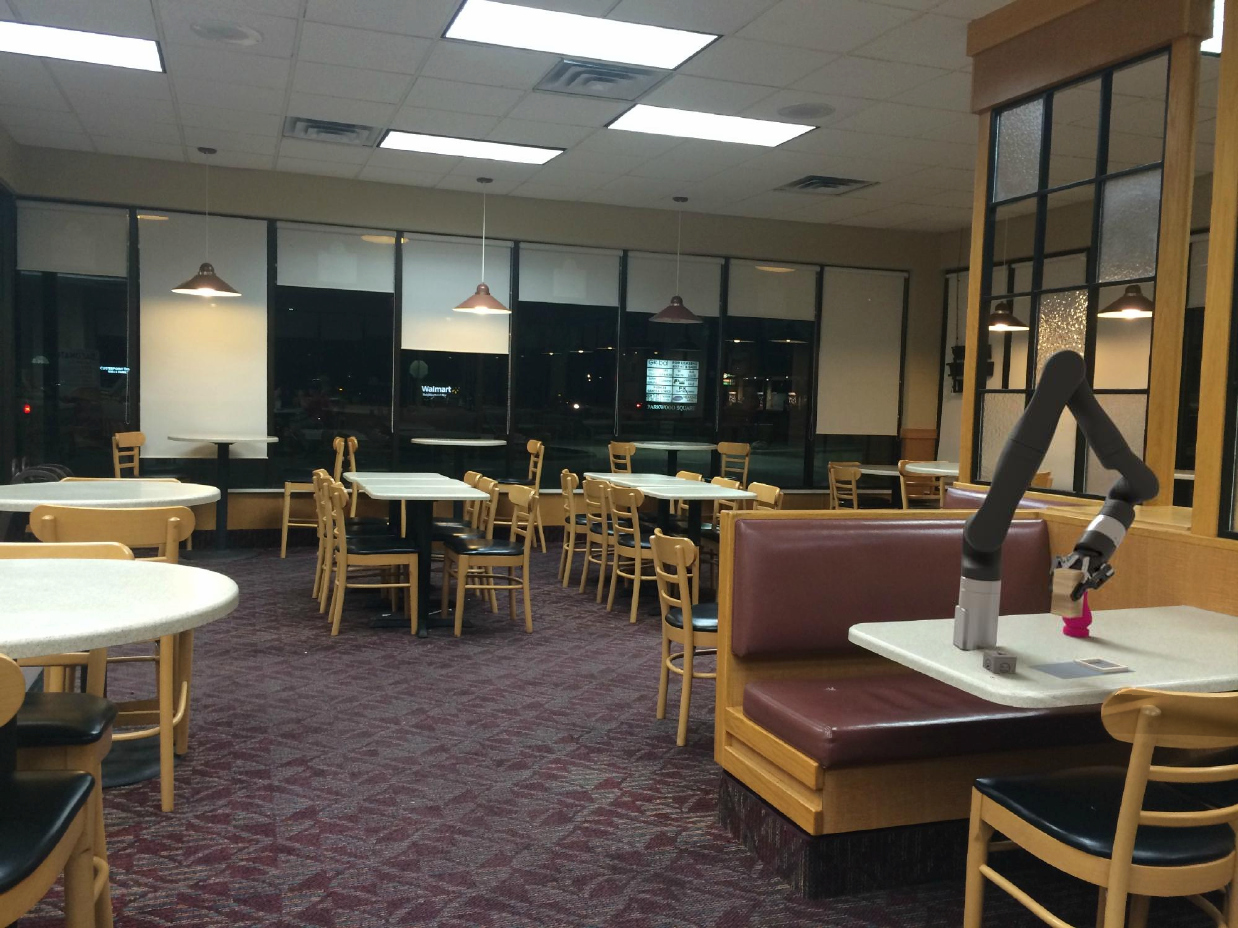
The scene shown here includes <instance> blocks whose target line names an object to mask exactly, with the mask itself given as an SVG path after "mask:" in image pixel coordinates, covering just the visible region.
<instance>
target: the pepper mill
mask: <svg viewBox="0 0 1238 928" xmlns="http://www.w3.org/2000/svg"><path fill="white" fill-rule="evenodd" d="M1090 591H1091V588H1090V589H1089V590H1086V591H1085V593H1084V597H1083V608H1082V617H1074V618H1067V617H1062V616H1061V620H1062V621H1063V623H1064V624H1065V625H1063V627H1062V633H1063V634H1064V635H1066V636H1070V637H1074V638H1089V636H1090V629H1089V628H1088V627H1089V626H1091V624H1092V623H1093V615H1092V611H1091V609H1090V606H1089V603H1088V595H1089V592H1090Z"/></svg>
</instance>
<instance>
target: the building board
mask: <svg viewBox="0 0 1238 928" xmlns="http://www.w3.org/2000/svg"><path fill="white" fill-rule="evenodd" d="M1027 667H1028V668H1031V669H1035V670H1037V671H1039V672H1042V673H1046V674H1048V675H1052V676H1054V677H1057V678H1060V679H1063V680H1067V679H1077V678H1087V677H1097V676H1106V675H1107V676H1108V675H1117V674H1126V673H1127V674H1128V673H1135V672H1136V671H1135V670H1132V669H1129V667H1128V666H1127V665H1123V664H1119V663H1117V662H1114V661H1110V660H1107V659H1104V658H1101V657H1090V658H1081V659H1073V661H1066V662H1065V661H1064V662H1058V663H1057V662H1056V663H1045V664H1036V665H1034V664H1033V665H1027Z"/></svg>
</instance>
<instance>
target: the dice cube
mask: <svg viewBox="0 0 1238 928" xmlns="http://www.w3.org/2000/svg"><path fill="white" fill-rule="evenodd" d="M1017 659H1018V658H1017V656H1015V655H1014V654H1012V653H1010V652H1008V651H1006V650H983V654H982V668H984V669H985V670H987V671H989V672H990V673H992V674H996V675H997V674H1005V675H1006V674H1007V675H1016V670H1017ZM991 677H992V676H991ZM992 678H994V677H992ZM992 678H991V679H992Z"/></svg>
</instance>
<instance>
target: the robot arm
mask: <svg viewBox="0 0 1238 928" xmlns="http://www.w3.org/2000/svg"><path fill="white" fill-rule="evenodd" d="M1086 364H1087V363H1086V361H1085V360H1084V358H1083V356H1082V355H1081V354H1080V353H1078V352H1077V351H1075V350H1073V349H1060V350H1057V351H1055V352H1052V354H1050V355H1049V356H1048V357H1047V358H1046V359H1045V360H1044V362H1043V365H1042V368H1041V373H1040V377H1039V380H1038V383H1037V385H1036V387H1035V390H1034V393H1033V395H1032V398H1031V400H1030V401H1029V403H1028V405H1027V407H1026V408H1025V409H1024V411H1023V412H1022V413H1021V415H1020V417H1019V418H1018V420H1017V421H1016V423H1015V425H1014V426H1013V428H1012V430H1011V431H1010V434H1009V435H1008V437H1007V440H1006V441H1005V443H1004V446H1003V447H1002V450H1001V452H1000V455H999V456H998V460H997V462H996V465H995V469H994V472H993V475H992V480H991V484H990V486H989V489H988V491H987V494H986V496H985V498H984V499H983V501H982V503H981V505H980V506H979V508H978V510H977V511H976V512H974V513H972V514H971V515H969V516H968V517H967V519H966V520H965V521H964V524H963V528H962V541H961V555H960V556H961V557H960V558H961V559H960V564H961V565H960V566H961V569H960V570H961V571H960V586H959V595H958V605H955V610H954V622H953V623H954V625H953V634H952V635H953V638H952V644H954V645H955V646H956V647H957V648H959V649H961V650H968V651H977V650H983V649H991V648H997V642H998V640H997V639H998V630H999V629H998V625H999V613H1000V602H1001V589H1002V588H1001V587H1002V575H1003V568H1002V567H1003V564H1002V552H1003V544H1004V543H1005V541H1006V538H1007V535H1008V532H1009V530H1010V528H1011V524H1012V521H1013V519H1014V516H1015V513H1016V511H1017V508H1018V505H1019V504H1020V502H1021V500H1022V498H1023V497H1024V495H1025V494H1026V492H1027V490H1028V489H1029V487H1030V485H1031V483H1032V482H1033V480H1034V478H1035V477H1036V474H1037V473H1038V471H1039V469H1040V468H1041V465H1042V463H1043V462H1044V460H1045V457H1046V455H1047V453H1048V451H1049V448H1050V446H1051V443H1052V441H1053V439H1054V436H1055V433H1056V430H1057V428H1058V424H1059V421H1060V419H1061V416H1062V414H1063V412H1064V410H1065V408H1067V409H1068V410H1069V412H1070V413H1071V415H1072V417H1073V418H1074V419H1075V421H1076V423H1077V424H1078V426H1079V429H1080V430H1081V432H1082V434H1083V436H1084V438H1085V439H1086V441H1087V443H1088V445H1089V446H1090V448H1091V450H1092V451H1093V453H1094V454H1095V457H1096V458H1097V460H1098V461H1099V463H1100V465H1101V466H1102V467H1103V469H1105V470H1107V471H1114V470H1115V471H1117V472H1118V473H1119V474H1120V475H1121V477H1119V478H1117V479H1116V480H1115V481H1114V482H1113V483H1112V484H1111V486H1110V487H1109V489H1108V492H1107V494H1106V497H1105V500H1104V504H1103V506H1102V507H1101V509H1099V511H1098V513H1097V514H1096V516H1095V517H1094V519H1092V521H1090V523H1089V524H1088V525H1087V526H1086V528H1085V530H1084V531H1083V532H1082V534H1081V535H1080V537H1079V538H1078V540H1077V541H1076V542H1075V544H1074V546H1073V547H1074V548H1073V551H1072V552H1071V553H1069V554H1068V555H1067V556H1061V555H1060V554H1055V555H1054V557H1053V560H1052V562H1051V563H1052V564H1051V567H1050V570H1049V574H1050V576H1051V578H1052V580H1053V579H1054V569H1060V568H1066V569H1075V570H1080V571H1082V572H1083V576H1082V577H1081V579H1080V583H1078V584H1077V585H1076V587H1075V588H1074V590H1073V591H1072V593H1071V594H1070V597H1071V599H1072V600H1073V601H1075V602H1077V601H1078V600H1079V599H1081V597H1082V596H1083V594H1084V593H1085V591H1086V590H1089V589H1090V590H1091V589H1093V590H1094V591H1096V590H1099V588H1101V587H1102V586H1103V585H1104V584H1105V583H1106V582H1107V581H1108V580H1109V579H1111V578H1112V577H1113V576H1114V575H1115V570H1114V568H1113V567H1112V565H1111V564H1110V563H1109V561H1111V558H1112V557H1113V556H1114V554H1115V552H1116V551H1117V550H1118V548H1119V546H1120V544H1121V543H1122V542H1123V540H1124V537H1125V535H1126V534H1127V532H1128V531H1129V529H1130V527H1131V526H1132V524H1133V522H1135V518H1136V511H1135V509H1134V508H1135V506H1137V505H1139V504H1143V503H1145V502H1148V501H1150V500H1153V499H1155V498H1156V497H1157V496H1158V495H1159V492H1160V483H1159V479H1158V477H1157V475H1156V474H1155V472H1154V471H1153V470H1152V468H1150V467H1149V466H1148V465H1147V464H1146V463H1145V462H1144V461H1143V460H1142V459H1141V458H1140V457H1139V456H1138V455H1137V454H1135V453H1134V452H1133V451H1132V449H1131V447H1130V446H1129V444H1128V442H1127V441H1126V439H1125V437H1124V435H1123V434H1122V432H1121V431H1120V429H1119V428H1118V427H1117V426H1116V424H1115V422H1114V421H1113V420H1112V418H1111V417H1110V416H1109V415H1108V414H1107V412H1106V411H1105V409H1104V408H1103V407H1102V405H1101V404H1100V403H1099V401H1098V399H1097V398H1096V396H1095V394H1094V393H1093V391H1092V389H1091V387H1090V384H1089V382H1088V379H1087V376H1086V375H1087V365H1086ZM1048 592H1049V594H1050V596H1051V597H1052V593H1053V581H1052V582H1051V584H1050V586H1048Z"/></svg>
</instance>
